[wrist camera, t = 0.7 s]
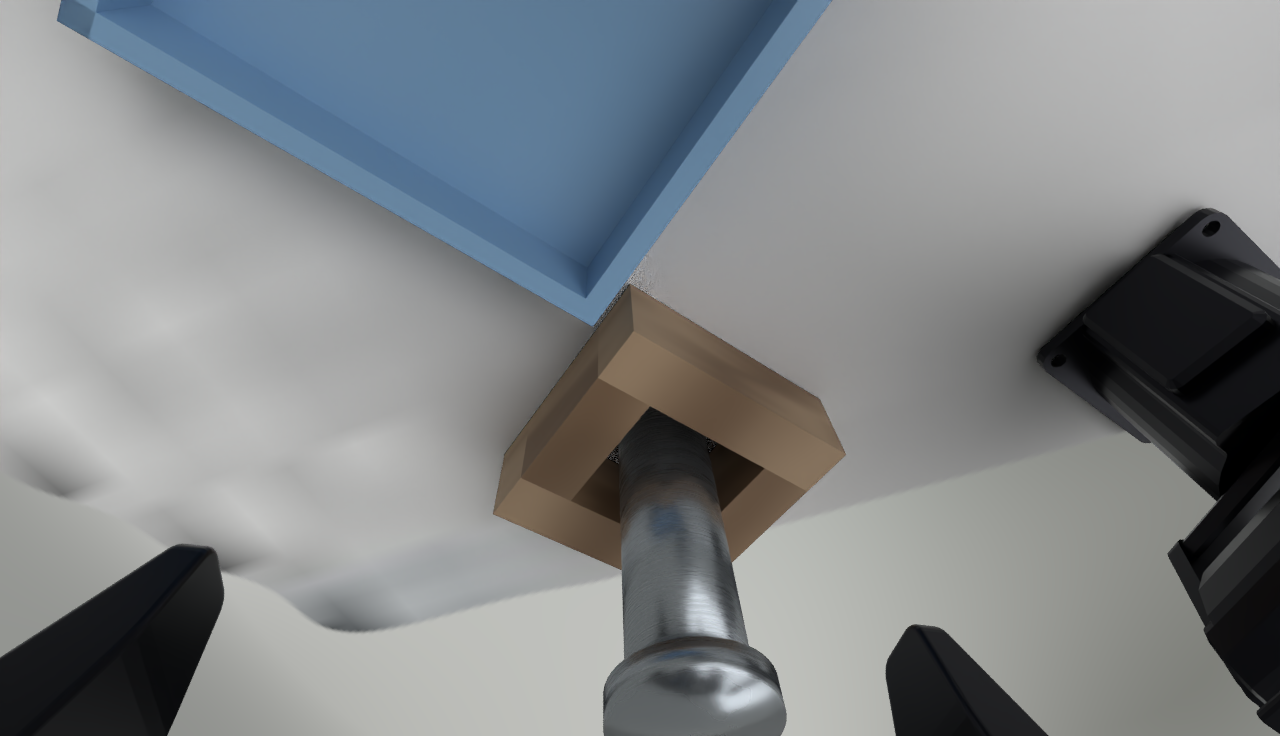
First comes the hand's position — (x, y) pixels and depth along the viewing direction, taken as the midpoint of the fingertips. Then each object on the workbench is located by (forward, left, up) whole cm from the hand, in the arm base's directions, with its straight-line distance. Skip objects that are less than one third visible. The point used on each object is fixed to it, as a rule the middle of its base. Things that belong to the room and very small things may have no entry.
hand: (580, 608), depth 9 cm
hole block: (-6, +5, -13) cm, 15 cm away
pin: (-6, +5, -13) cm, 15 cm away
